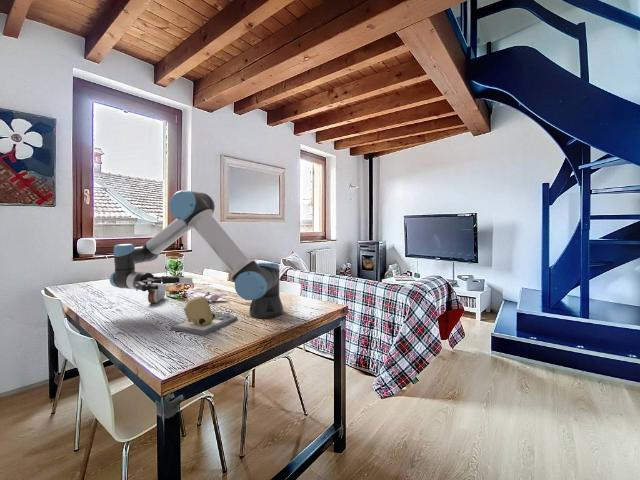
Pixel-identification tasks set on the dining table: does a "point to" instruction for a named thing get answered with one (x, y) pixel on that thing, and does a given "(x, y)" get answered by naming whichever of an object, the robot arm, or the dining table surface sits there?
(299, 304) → the dining table surface
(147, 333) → the dining table surface
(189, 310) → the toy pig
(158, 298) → the tin
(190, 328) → the breaker panel
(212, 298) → the rabbit figure
